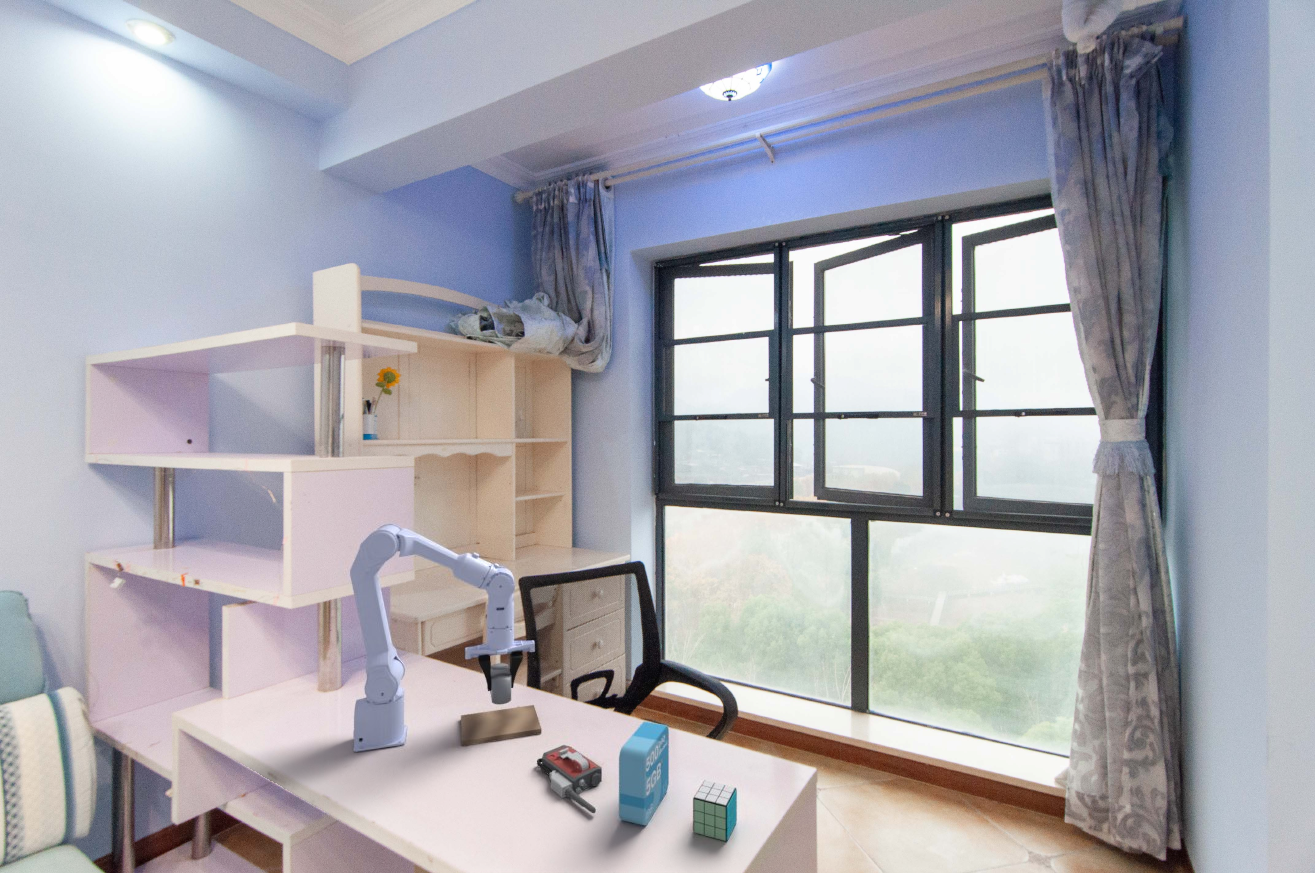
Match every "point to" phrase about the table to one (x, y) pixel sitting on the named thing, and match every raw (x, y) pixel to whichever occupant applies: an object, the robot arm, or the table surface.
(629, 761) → the data package
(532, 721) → the walnut board
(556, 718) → the table surface
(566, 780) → the walkie-talkie
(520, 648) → the robot arm
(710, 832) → the puzzle toy
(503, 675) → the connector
